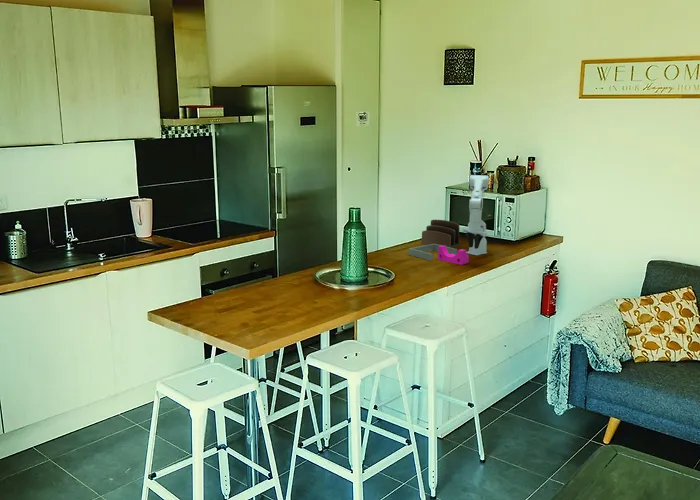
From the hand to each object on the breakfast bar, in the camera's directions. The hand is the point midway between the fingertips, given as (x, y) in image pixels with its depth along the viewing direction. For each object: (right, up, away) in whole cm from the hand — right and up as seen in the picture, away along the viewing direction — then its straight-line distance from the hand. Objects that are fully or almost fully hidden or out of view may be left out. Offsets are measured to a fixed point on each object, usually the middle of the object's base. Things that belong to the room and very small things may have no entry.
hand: (473, 247), depth 348 cm
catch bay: (-18, -4, +24) cm, 30 cm away
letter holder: (-11, +2, +49) cm, 50 cm away
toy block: (-9, -7, +11) cm, 16 cm away
